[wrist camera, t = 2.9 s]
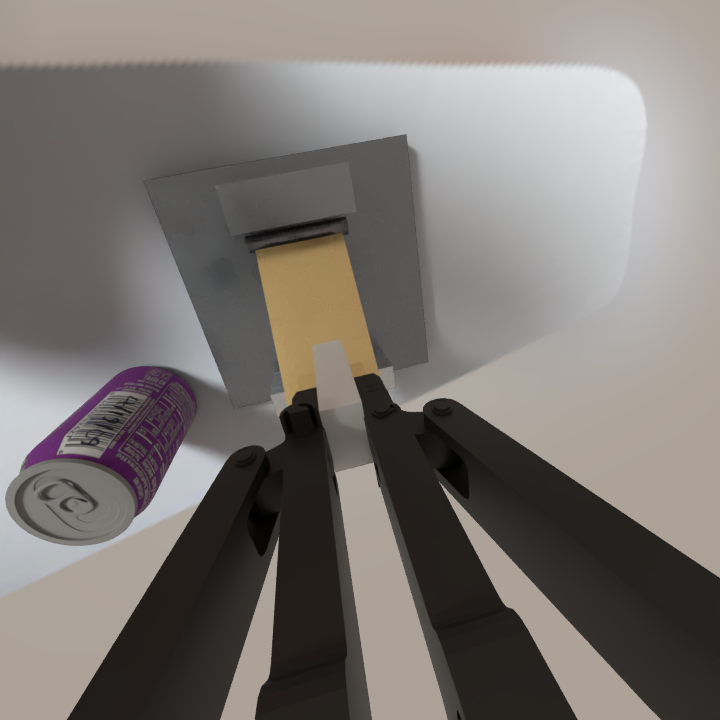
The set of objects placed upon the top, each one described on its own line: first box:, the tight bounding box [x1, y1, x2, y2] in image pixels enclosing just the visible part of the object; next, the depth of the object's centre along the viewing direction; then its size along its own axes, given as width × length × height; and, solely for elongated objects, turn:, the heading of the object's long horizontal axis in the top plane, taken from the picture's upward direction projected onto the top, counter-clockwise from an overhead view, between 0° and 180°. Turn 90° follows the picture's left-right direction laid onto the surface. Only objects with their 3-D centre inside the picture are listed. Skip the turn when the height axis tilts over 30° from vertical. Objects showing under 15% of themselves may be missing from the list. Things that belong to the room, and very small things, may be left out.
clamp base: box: [144, 134, 428, 417], centre depth 25 cm, size 18×18×6 cm
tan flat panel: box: [245, 217, 380, 407], centre depth 22 cm, size 7×13×2 cm
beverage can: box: [5, 366, 197, 546], centre depth 24 cm, size 7×7×12 cm
